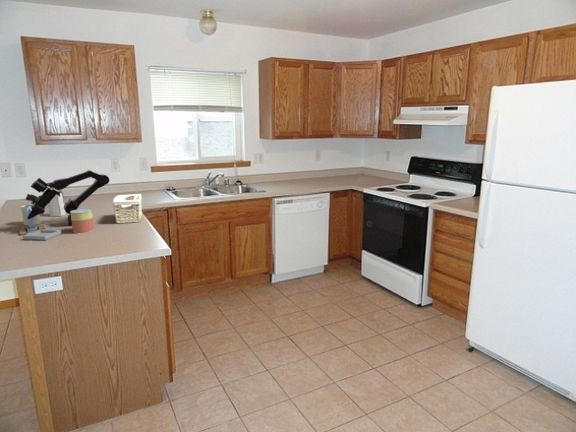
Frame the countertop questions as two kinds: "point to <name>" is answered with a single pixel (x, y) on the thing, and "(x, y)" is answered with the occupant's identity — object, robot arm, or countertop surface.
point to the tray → (42, 235)
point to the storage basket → (128, 208)
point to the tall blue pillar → (30, 220)
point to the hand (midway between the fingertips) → (27, 218)
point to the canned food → (82, 220)
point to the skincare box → (56, 206)
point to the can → (36, 218)
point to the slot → (23, 230)
